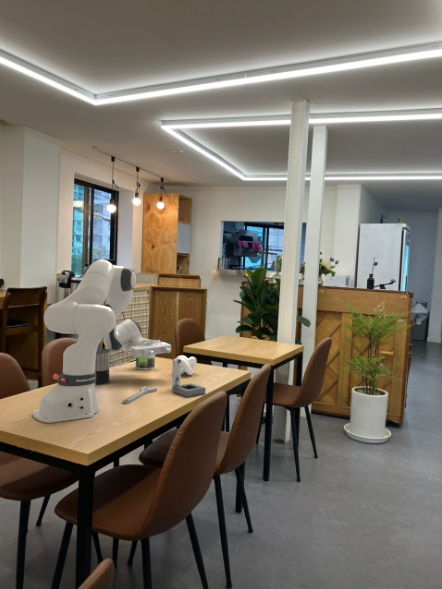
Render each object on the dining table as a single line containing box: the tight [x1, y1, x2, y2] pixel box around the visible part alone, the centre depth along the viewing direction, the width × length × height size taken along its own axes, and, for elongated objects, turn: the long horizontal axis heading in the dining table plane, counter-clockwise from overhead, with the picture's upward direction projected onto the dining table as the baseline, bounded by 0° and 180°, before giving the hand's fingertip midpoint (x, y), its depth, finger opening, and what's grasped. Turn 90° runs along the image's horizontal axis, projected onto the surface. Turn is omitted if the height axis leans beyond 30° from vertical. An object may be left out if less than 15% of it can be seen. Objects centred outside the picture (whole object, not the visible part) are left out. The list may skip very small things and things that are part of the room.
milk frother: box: [95, 348, 111, 386], centre depth 212 cm, size 14×16×15 cm
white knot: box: [175, 355, 197, 376], centre depth 233 cm, size 11×12×9 cm
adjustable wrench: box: [122, 385, 158, 405], centre depth 191 cm, size 25×6×2 cm, turn 159°
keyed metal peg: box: [171, 357, 181, 389], centre depth 204 cm, size 4×5×13 cm
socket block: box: [171, 382, 206, 398], centre depth 197 cm, size 10×10×2 cm
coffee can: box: [135, 354, 156, 370], centre depth 246 cm, size 10×10×14 cm
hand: (160, 352), depth 213 cm, fingers open, 8 cm apart
